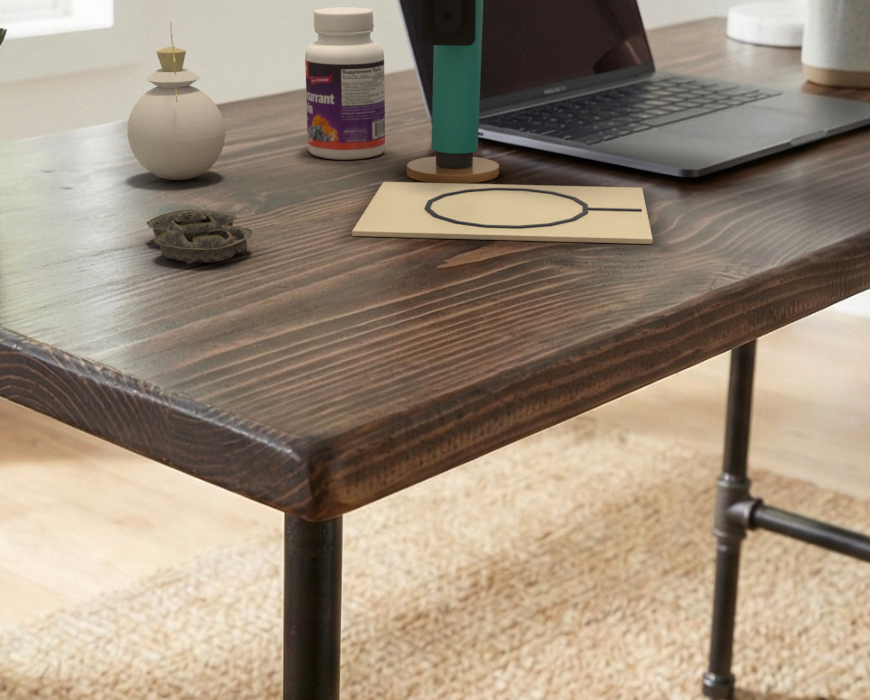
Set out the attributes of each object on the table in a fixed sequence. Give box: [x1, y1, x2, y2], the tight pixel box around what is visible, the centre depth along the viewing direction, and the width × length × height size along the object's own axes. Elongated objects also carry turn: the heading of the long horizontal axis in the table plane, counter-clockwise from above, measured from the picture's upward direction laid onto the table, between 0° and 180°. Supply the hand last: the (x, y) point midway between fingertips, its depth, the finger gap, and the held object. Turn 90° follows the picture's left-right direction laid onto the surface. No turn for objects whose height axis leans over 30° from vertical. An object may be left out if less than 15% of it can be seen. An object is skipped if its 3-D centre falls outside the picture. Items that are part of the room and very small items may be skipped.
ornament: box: [127, 21, 226, 181], centre depth 81 cm, size 6×7×10 cm
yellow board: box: [351, 181, 654, 245], centre depth 75 cm, size 16×12×1 cm
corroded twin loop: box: [146, 209, 253, 264], centre depth 67 cm, size 5×8×1 cm, turn 21°
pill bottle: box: [304, 6, 386, 161], centre depth 89 cm, size 5×5×10 cm
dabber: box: [431, 0, 484, 168], centre depth 82 cm, size 3×3×13 cm
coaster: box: [406, 155, 500, 184], centre depth 84 cm, size 6×6×1 cm
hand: (452, 36), depth 82 cm, fingers open, 4 cm apart
